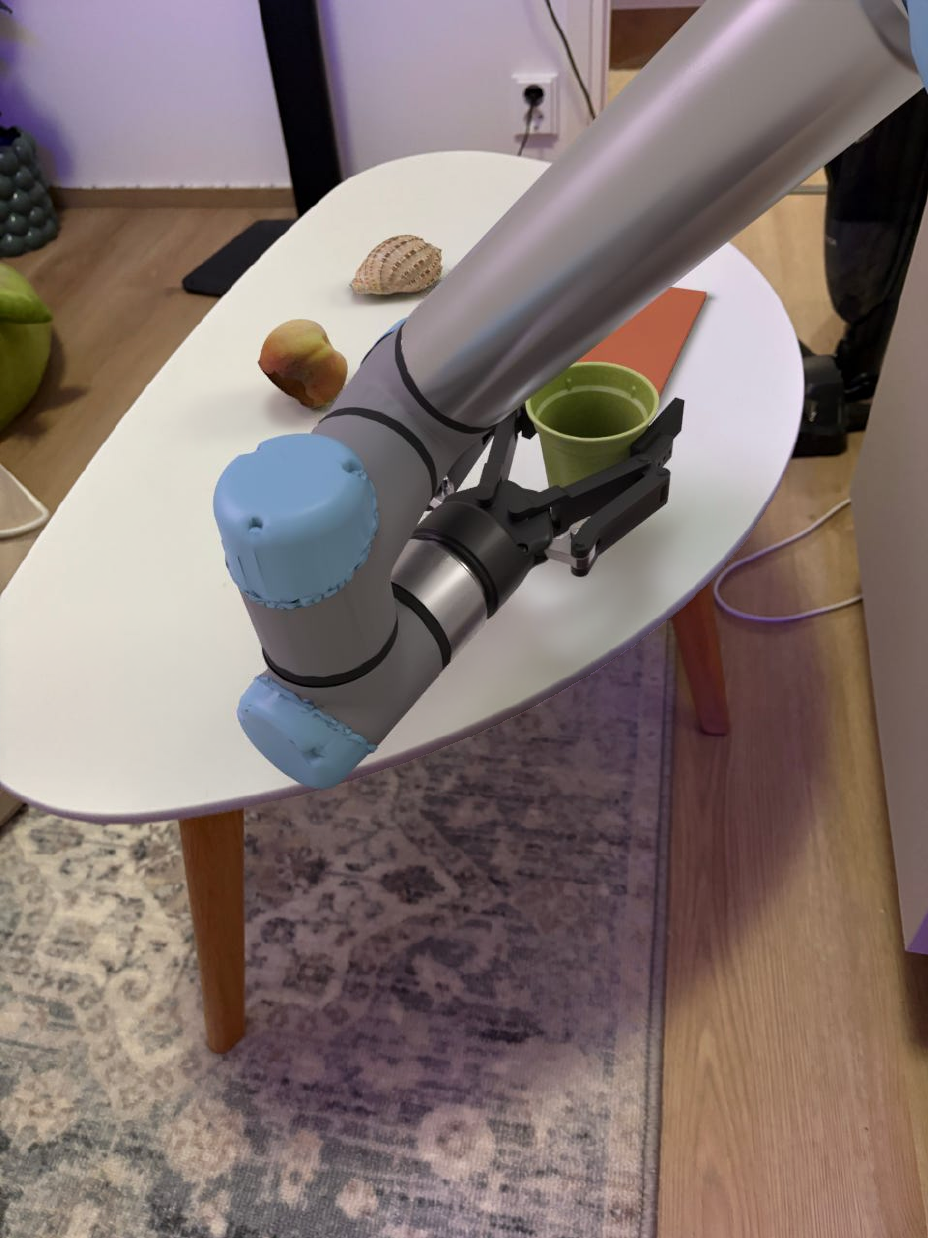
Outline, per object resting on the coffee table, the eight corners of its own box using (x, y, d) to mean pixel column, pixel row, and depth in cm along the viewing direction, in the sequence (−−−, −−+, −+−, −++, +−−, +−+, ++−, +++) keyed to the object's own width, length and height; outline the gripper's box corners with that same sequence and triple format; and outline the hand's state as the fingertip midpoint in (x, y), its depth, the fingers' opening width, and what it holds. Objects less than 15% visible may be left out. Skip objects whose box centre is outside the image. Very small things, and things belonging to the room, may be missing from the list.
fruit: (343, 427, 86) (327, 351, 80) (258, 423, 88) (236, 348, 82) (363, 379, 91) (349, 304, 85) (282, 376, 93) (263, 302, 87)
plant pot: (619, 441, 77) (624, 348, 70) (672, 512, 71) (682, 418, 64) (512, 472, 75) (506, 380, 69) (556, 547, 69) (555, 454, 63)
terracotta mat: (706, 296, 96) (706, 291, 96) (653, 409, 85) (653, 404, 84) (523, 271, 102) (523, 266, 102) (450, 373, 91) (450, 367, 90)
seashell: (397, 336, 101) (461, 269, 101) (369, 299, 96) (436, 228, 96) (358, 308, 105) (420, 244, 105) (330, 271, 100) (395, 203, 100)
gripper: (331, 561, 67) (509, 396, 78) (588, 688, 58) (748, 480, 69) (309, 480, 61) (504, 315, 73) (590, 606, 52) (764, 394, 63)
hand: (623, 395), depth 71 cm, fingers closed on plant pot, 8 cm apart
